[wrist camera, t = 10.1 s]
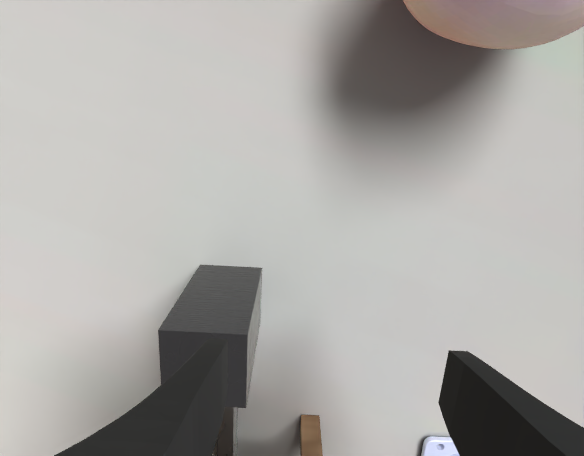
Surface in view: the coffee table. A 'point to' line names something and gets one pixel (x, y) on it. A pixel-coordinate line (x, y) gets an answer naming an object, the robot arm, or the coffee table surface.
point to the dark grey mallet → (217, 333)
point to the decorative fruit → (499, 20)
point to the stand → (310, 436)
